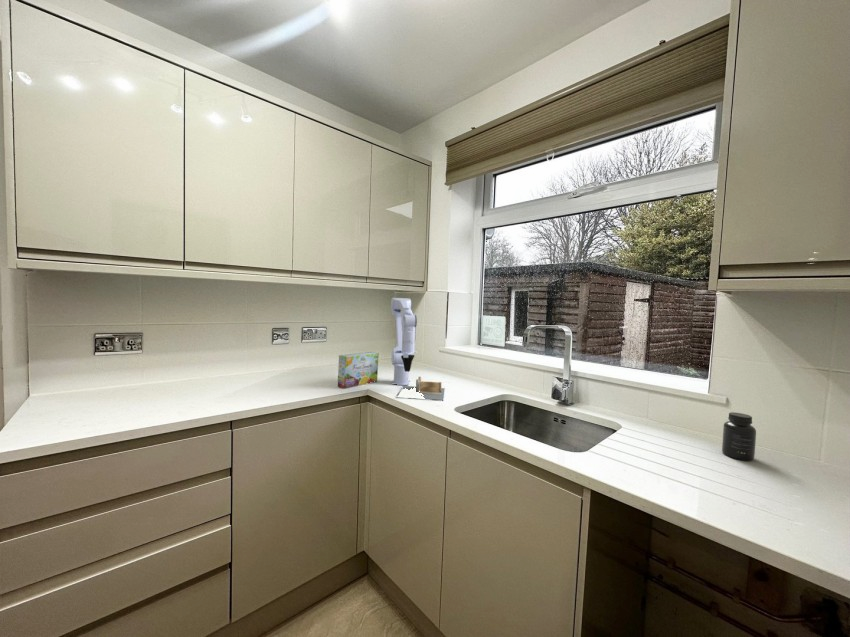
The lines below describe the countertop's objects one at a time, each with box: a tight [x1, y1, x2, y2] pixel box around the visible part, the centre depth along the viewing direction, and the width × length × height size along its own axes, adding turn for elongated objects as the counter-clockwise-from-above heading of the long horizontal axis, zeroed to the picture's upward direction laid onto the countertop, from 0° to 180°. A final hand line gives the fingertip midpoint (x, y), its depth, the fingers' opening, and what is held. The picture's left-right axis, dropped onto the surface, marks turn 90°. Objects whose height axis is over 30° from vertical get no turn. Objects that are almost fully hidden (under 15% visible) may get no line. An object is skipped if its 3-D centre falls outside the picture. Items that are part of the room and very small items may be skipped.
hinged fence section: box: [420, 380, 442, 393], centre depth 152 cm, size 10×1×4 cm, turn 86°
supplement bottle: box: [721, 411, 757, 462], centre depth 96 cm, size 7×7×12 cm
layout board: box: [402, 376, 445, 402], centre depth 152 cm, size 20×20×6 cm
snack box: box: [337, 351, 380, 389], centre depth 164 cm, size 21×6×15 cm, turn 143°
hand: (407, 371), depth 153 cm, fingers closed
